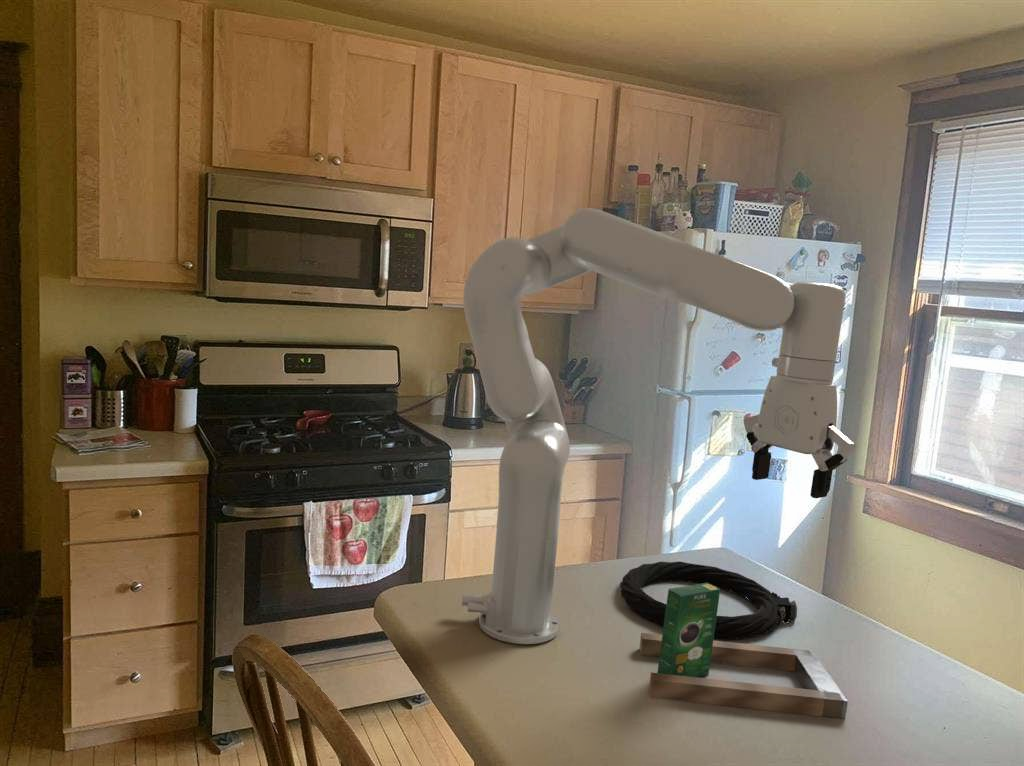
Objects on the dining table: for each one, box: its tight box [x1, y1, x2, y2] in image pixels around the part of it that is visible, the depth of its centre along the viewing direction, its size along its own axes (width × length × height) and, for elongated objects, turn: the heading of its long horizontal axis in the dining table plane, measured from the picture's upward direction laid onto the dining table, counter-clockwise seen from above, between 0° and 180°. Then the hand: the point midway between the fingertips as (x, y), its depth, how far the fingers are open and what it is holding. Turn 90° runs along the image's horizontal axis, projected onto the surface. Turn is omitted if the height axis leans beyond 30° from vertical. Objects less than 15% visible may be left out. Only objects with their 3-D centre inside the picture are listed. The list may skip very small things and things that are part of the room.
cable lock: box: [619, 561, 798, 640], centre depth 133 cm, size 28×4×30 cm
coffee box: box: [657, 583, 721, 678], centre depth 107 cm, size 8×3×13 cm, turn 122°
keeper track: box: [639, 632, 849, 720], centre depth 108 cm, size 26×14×2 cm, turn 87°
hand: (788, 487), depth 110 cm, fingers open, 9 cm apart
